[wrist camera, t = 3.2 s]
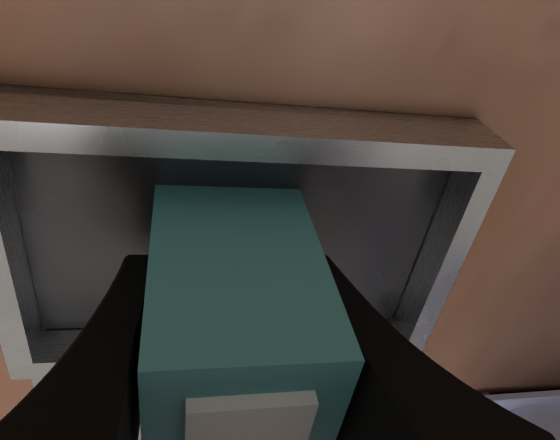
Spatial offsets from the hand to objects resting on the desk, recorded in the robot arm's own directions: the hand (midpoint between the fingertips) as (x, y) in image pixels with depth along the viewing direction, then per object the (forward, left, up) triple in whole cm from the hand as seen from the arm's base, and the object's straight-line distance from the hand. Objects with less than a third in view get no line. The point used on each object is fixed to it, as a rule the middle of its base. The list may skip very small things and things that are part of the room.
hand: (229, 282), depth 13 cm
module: (0, 0, -2) cm, 2 cm away
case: (0, 0, -2) cm, 2 cm away
